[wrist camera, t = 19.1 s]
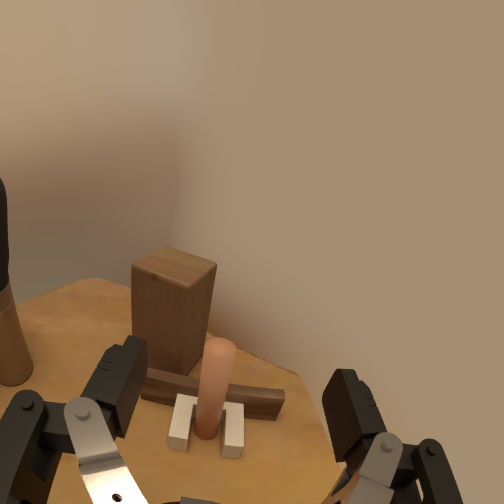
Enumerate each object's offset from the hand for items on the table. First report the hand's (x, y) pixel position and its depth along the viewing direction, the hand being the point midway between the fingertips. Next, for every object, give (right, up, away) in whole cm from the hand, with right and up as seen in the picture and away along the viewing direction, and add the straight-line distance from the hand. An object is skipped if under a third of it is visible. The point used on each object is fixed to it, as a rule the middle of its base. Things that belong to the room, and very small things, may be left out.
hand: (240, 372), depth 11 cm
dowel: (-6, -22, +25) cm, 34 cm away
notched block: (-6, -22, +24) cm, 33 cm away
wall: (-7, -20, +29) cm, 36 cm away
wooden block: (-15, -15, +38) cm, 44 cm away
